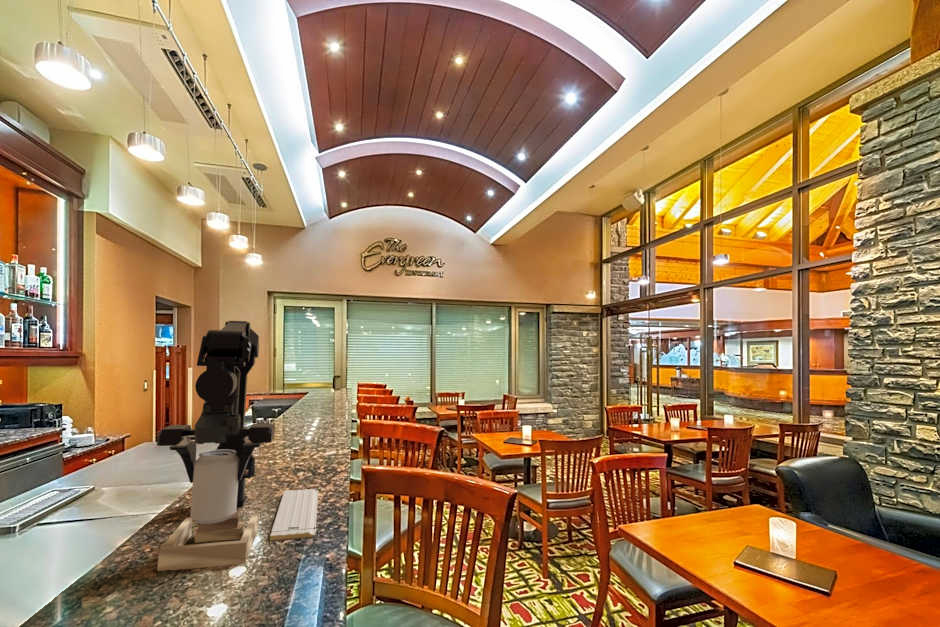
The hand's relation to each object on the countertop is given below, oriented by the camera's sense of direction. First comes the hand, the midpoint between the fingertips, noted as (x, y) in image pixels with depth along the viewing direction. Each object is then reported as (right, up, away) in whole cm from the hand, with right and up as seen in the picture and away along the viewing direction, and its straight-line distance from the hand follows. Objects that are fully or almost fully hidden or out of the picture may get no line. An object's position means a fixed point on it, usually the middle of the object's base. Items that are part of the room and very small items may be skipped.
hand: (216, 481), depth 86 cm
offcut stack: (-2, -13, +6) cm, 15 cm away
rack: (-1, -13, +1) cm, 13 cm away
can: (0, -7, -1) cm, 7 cm away
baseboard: (+8, -16, +20) cm, 27 cm away
